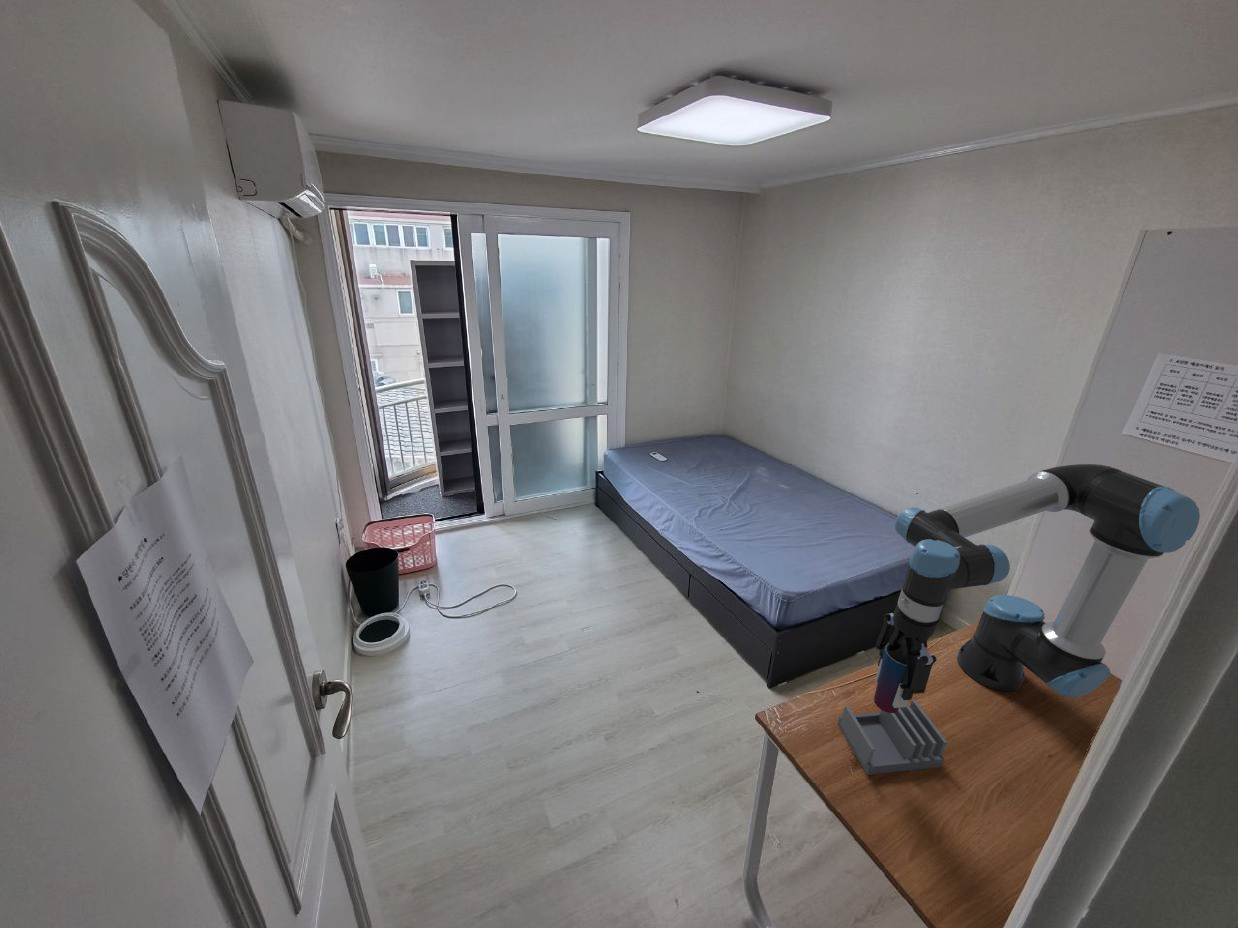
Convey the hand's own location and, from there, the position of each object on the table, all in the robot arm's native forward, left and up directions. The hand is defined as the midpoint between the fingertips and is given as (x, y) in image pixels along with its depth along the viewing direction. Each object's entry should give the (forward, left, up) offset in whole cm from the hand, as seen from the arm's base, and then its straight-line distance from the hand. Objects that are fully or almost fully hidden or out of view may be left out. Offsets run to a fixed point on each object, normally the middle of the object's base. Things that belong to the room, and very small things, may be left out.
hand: (889, 692), depth 110 cm
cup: (0, 0, -4) cm, 4 cm away
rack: (-4, 0, -17) cm, 18 cm away
